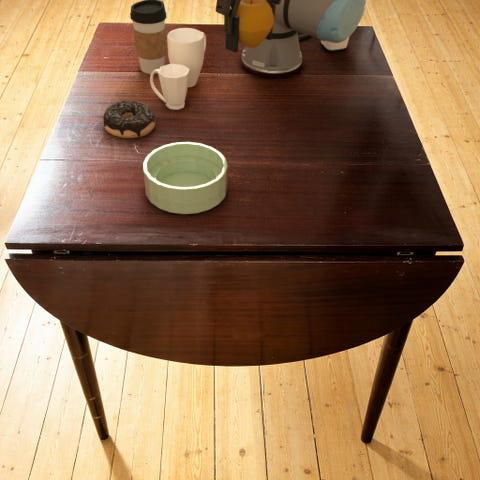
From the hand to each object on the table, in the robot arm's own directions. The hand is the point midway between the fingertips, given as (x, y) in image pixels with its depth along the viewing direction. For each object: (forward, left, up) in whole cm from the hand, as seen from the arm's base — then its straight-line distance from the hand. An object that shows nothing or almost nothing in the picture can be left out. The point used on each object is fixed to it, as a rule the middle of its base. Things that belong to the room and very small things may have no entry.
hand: (249, 43), depth 121 cm
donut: (+19, -17, -18) cm, 31 cm away
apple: (0, 0, 0) cm, 0 cm away
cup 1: (+6, -19, -18) cm, 27 cm away
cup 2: (-46, -13, -18) cm, 51 cm away
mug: (-5, -24, -18) cm, 30 cm away
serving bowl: (+26, +9, -18) cm, 33 cm away
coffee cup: (-2, -35, -18) cm, 39 cm away
